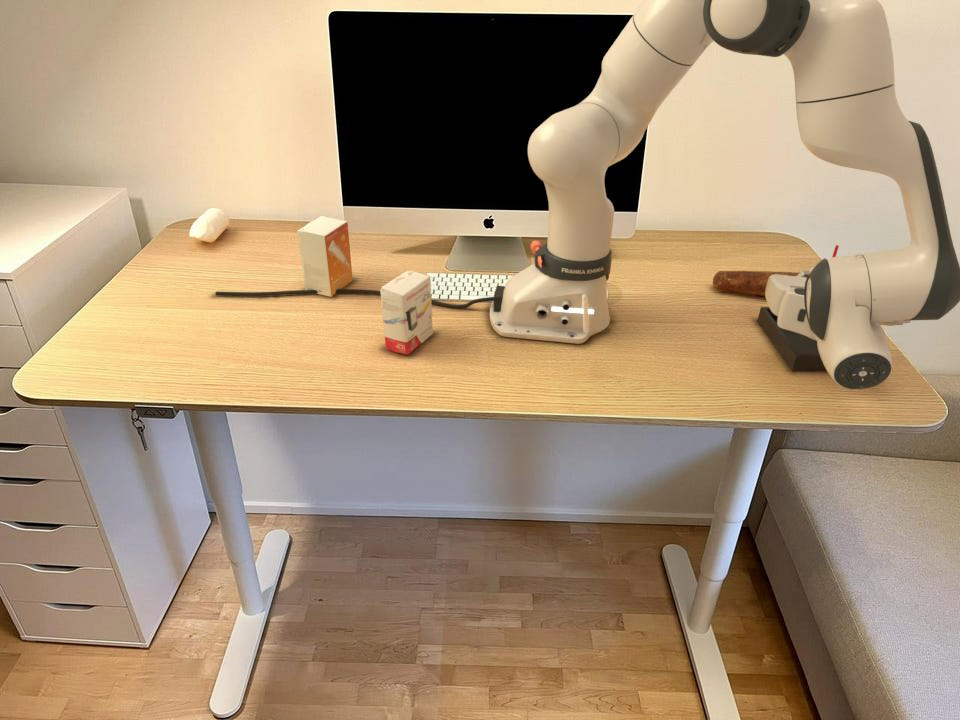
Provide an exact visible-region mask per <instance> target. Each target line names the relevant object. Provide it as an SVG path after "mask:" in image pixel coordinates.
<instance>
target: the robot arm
mask: <svg viewBox="0 0 960 720" xmlns="http://www.w3.org/2000/svg"><path fill="white" fill-rule="evenodd" d="M713 42H714V43H716V44H717V45H718V46H720V47H721V48H723V49H724V50H727V51H731V52H733V53H737V54H742V55H753V56H762V57H769V58H778V57H781V56H785V57H786V58H787V59H788V61H789V62H790V65H791V68H792V71H793V76H794V93H795V111H796V112H795V113H796V120H797V125H798V126H797V127H798V131H799V136H800V140H801V143H802V144H803V145H804V147H805V149H806V150H807V151H809V152H810V153H811V154H812V155H814V156H815V157H817V159H820V160H822V161H824V162H827V163H829V164H833V165H836V166H840V167H844V168H849V169H854V170H860V171H865V172H871V173H877V174H880V175H884V176H887V177H888V178H891V179H892V180H893V181H895V182H896V184H897V185H898V188H899V189H900V190H899V191H900V193H901V197H902V203H903V206H904V211H905V217H906V221H907V226H908V228H909V234H910V242H909V243H908V244H907V245H906V246H903V247H902V248H897V249H889V250H881V251H874V252H865V253H861V252H860V253H853V254H846V255H838V256H836V257H827V258H823V259H821V260H820V261H818V263H817V264H816V265H815V266H813V267H814V269H813V270H812V271H811V273H809V270H803V269H799V271H798V272H797V273H798V276H787V275H778V274H774V275H771V276H770V277H769V279H768V282H767V285H766V290H765V296H764V297H765V300H766V303H767V307H769V308H770V310H771V311H772V313H773V314H775V315H776V316H778V319H777V325H778V326H779V327H780V328H782V329H786V330H790V331H793V332H796V333H799V334H802V335H805V336H807V337H809V338H811V339H813V340H816V341H817V347H818V351H819V354H820V357H821V360H822V362H823V364H824V366H825V368H826V370H827V371H826V372H827V374H828V375H829V377H830V378H831V379H832V380H833V381H834V383H835V384H837V385H839V387H842V388H845V389H849V390H865V389H870V388H874V387H877V386H878V385H880V384H883V382H885V381H886V380H887V379H888V378H890V376H891V374H892V371H893V367H894V366H893V365H894V363H893V356H892V351H891V347H890V343H889V341H888V338H887V336H886V335H887V334H886V333H885V331H884V328H883V327H882V326H887V327H892V326H903V325H904V324H909V323H911V322H912V321H939V320H940V319H942V318H943V317H945V316H946V315H947V314H948V313H949V312H951V311H952V310H953V309H954V308H955V307H956V306H957V305H958V304H959V303H960V262H959V260H958V256H957V253H956V250H955V246H954V242H953V239H952V238H953V237H952V234H951V229H950V223H949V220H948V219H949V218H948V214H947V208H946V204H945V200H944V194H943V189H942V184H941V180H940V175H939V172H938V168H937V163H936V159H935V153H934V151H933V147H932V144H931V141H930V139H929V137H928V134H927V133H926V132H927V131H925V129H924V127H923V126H922V125H921V124H920V123H918V122H914V121H911V120H909V119H908V118H907V117H906V116H905V114H904V113H903V111H902V110H901V107H900V106H899V102H898V100H897V95H896V85H895V82H896V81H895V80H896V79H895V65H894V64H895V63H894V54H893V45H892V39H891V34H890V27H889V24H888V19H887V16H886V12H885V10H884V7H883V5H882V4H881V3H880V1H878V0H643V1H642V2H641V4H640V5H639V7H637V9H636V11H635V12H634V14H633V15H631V17H630V19H629V21H628V22H627V23H626V25H625V26H624V28H623V29H622V30H621V31H620V33H619V35H618V36H617V38H616V39H615V40H614V42H613V44H612V45H611V46H610V48H609V49H608V51H607V52H606V53H605V55H604V56H603V59H602V61H601V73H600V75H599V77H598V79H597V82H596V84H595V86H594V88H592V89H593V90H592V91H591V92H590V93H589V95H588V96H586V97H585V98H584V99H583V100H582V101H581V102H578V103H577V104H576V105H574V106H571V107H569V108H566V109H563V110H560V111H558V112H555V113H554V114H552V115H550V116H549V117H548V118H547V119H545V120H543V122H542V123H541V124H540V125H539V126H537V128H535V129H534V131H533V132H532V133H531V135H530V137H529V140H528V144H527V158H528V162H529V165H530V167H531V169H532V171H533V173H534V174H535V175H536V176H537V177H538V179H540V180H541V181H542V182H543V184H544V187H545V191H546V196H547V201H548V222H547V223H548V226H547V238H546V239H547V242H546V243H545V244H544V245H542V244H543V243H542V242H541V241H540V240H538V239H537V240H536V239H535V240H533V241H532V242H531V243H530V249H531V253H532V254H533V255H534V263H532V264H530V265H529V266H527V267H525V268H524V269H523V270H520V271H519V272H517V273H515V274H513V275H512V276H511V277H509V278H508V280H507V281H506V284H505V285H496V287H495V290H494V294H493V296H488V297H487V296H486V297H480V298H475V299H472V300H470V301H469V302H466V303H464V304H463V303H462V304H453V303H446V302H442V301H438V300H434V299H431V303H432V305H435V306H439V307H443V308H447V309H466V308H469V307H471V306H472V305H474V304H478V303H484V302H491V303H490V307H489V322H490V325H491V327H492V328H493V330H494V332H496V333H497V334H498V335H499V336H501V337H506V338H514V339H523V340H525V339H526V340H533V341H534V340H536V341H543V342H544V341H545V342H555V343H556V342H558V343H567V344H578V345H580V344H584V343H586V342H587V341H588V340H589V339H590V338H591V337H592V336H594V335H597V334H599V333H601V332H602V331H604V330H606V329H607V328H608V326H609V325H610V323H611V315H610V311H609V305H608V303H609V302H608V280H609V278H610V274H611V270H612V269H611V268H612V261H613V257H612V256H613V250H612V249H611V243H612V236H613V235H612V234H613V226H614V220H615V219H614V218H615V207H614V205H613V202H612V201H611V200H610V199H609V198H608V197H607V191H606V186H605V178H606V172H607V171H608V169H609V167H611V166H613V165H614V164H616V163H618V162H621V161H622V160H624V159H626V158H627V157H628V155H630V154H631V153H632V152H633V151H634V150H635V148H637V146H638V145H639V144H640V143H641V141H642V139H643V137H644V135H645V132H646V130H647V129H648V127H649V125H650V123H651V122H652V120H653V118H654V116H655V115H656V113H657V111H658V110H659V108H660V107H661V105H662V104H663V103H664V102H665V100H666V99H667V98H668V96H669V95H670V94H671V93H672V92H673V90H674V89H675V88H676V87H677V85H678V84H679V83H680V82H681V80H682V79H684V77H685V76H686V74H687V73H688V72H689V71H690V69H691V68H692V67H693V66H694V64H695V63H696V62H697V61H698V60H699V59H700V57H701V56H702V55H703V53H704V52H705V51H706V50H707V48H709V46H710V45H711V44H713ZM316 293H318V291H316V290H305V289H300V290H299V289H298V290H279V291H278V290H277V291H215V293H214V294H215V296H230V297H231V296H233V297H234V296H235V297H267V296H286V295H287V296H289V295H309V294H316ZM339 293H340V294H341V293H342V294H368V295H369V294H370V295H378V296H381V293H380V290H374V289H358V288H357V289H356V288H342V289H337V290H336V294H339Z"/></svg>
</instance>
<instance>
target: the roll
mask: <svg viewBox="0 0 960 720" xmlns="http://www.w3.org/2000/svg"><path fill="white" fill-rule="evenodd" d="M230 221H231V220H230V217H229V215H228V214H227V213H226V212H225V211H223V210H222V209H220V208H218V207H212V208H208V209H207V210H206V211H204V213H202V214H201V215H200V216H199V217H198V218H197V219H196V220H195V221H194V222H193V223H192V225H191V227H190V230H189V237H190V238H193V239H195V240H197V241H200V242H207V243H209V244H210V243H214V242H216V240H217V239H218V238H219V237H220V236H221V235H222V234H223V232H224V231H225V230H226V229H227V228H228V227H229V226H230Z"/></svg>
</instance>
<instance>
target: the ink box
mask: <svg viewBox="0 0 960 720" xmlns="http://www.w3.org/2000/svg"><path fill="white" fill-rule="evenodd" d="M379 291H380V293H381V295H380V302H381V312H382V324H383V333H384V345H385V349H386V350H388V351H391V352H394V353H397V354H402V355H406V356H409V355H410V354H411V353H412V352H413V351H415V349H417V348H418V347H419V346H420V345H422V344H423V343H424V342H425V341H427V339H429V338H430V337H431V336H432V335H433V334H434V327H433V324H434V323H433V304H432V303H431V300H432V285H431V276H430V275H429V274H425V273H422V272H417V271H415V270H410V269H409V270H406V271H404V272H402V273H401V274H399V275H398V276H397V277H394V279H391V280H390V281H388V282H387V283H386V284H384V285H382V286H381V288H380V289H379Z"/></svg>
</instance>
